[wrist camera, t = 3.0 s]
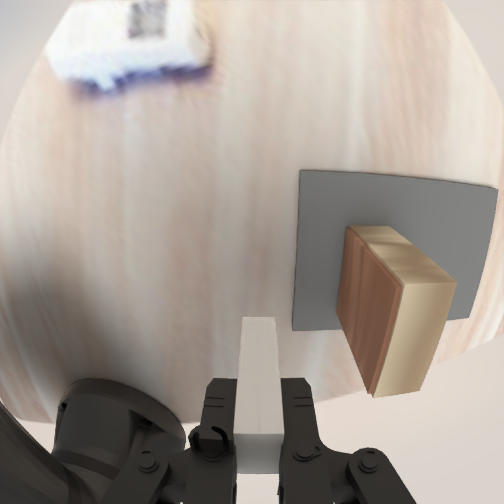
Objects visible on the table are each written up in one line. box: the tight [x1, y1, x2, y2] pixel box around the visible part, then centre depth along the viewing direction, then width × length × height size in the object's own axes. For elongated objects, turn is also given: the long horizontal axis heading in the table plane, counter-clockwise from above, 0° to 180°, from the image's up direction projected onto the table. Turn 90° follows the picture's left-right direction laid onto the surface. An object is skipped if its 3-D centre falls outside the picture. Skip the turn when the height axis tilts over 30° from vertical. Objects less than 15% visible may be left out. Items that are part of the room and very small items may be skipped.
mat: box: [292, 170, 498, 331], centre depth 22 cm, size 17×12×1 cm
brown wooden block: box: [336, 225, 457, 398], centre depth 18 cm, size 3×7×9 cm, turn 0°
